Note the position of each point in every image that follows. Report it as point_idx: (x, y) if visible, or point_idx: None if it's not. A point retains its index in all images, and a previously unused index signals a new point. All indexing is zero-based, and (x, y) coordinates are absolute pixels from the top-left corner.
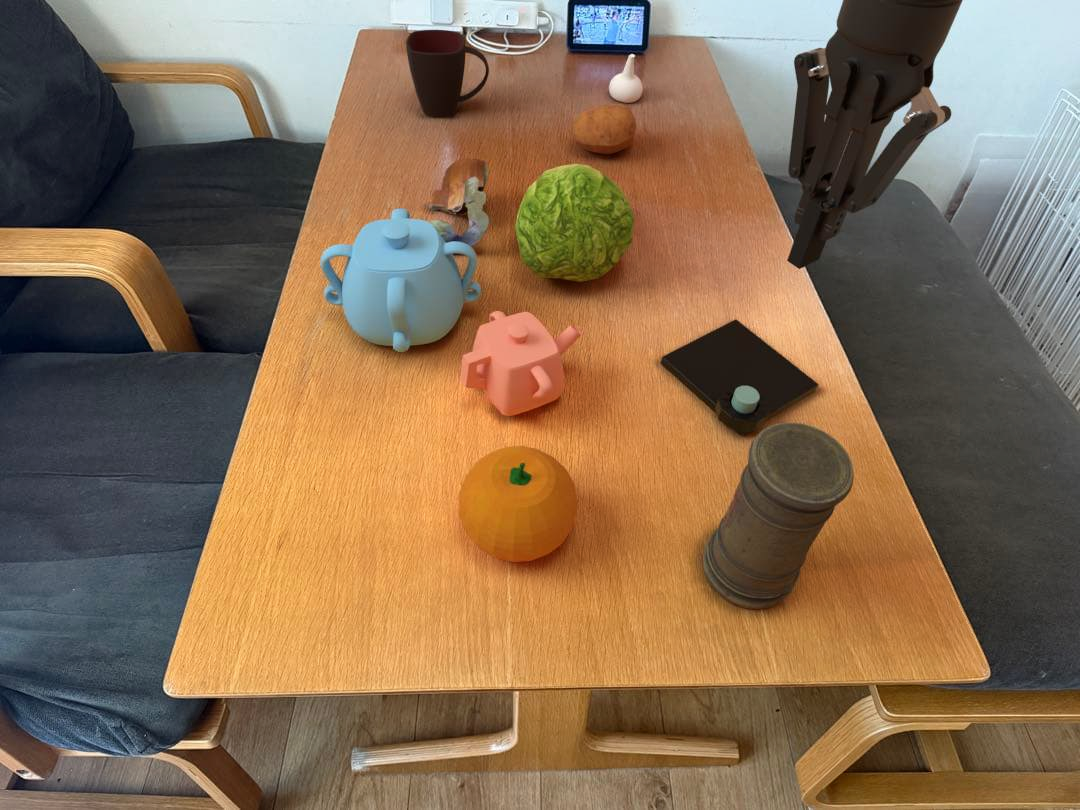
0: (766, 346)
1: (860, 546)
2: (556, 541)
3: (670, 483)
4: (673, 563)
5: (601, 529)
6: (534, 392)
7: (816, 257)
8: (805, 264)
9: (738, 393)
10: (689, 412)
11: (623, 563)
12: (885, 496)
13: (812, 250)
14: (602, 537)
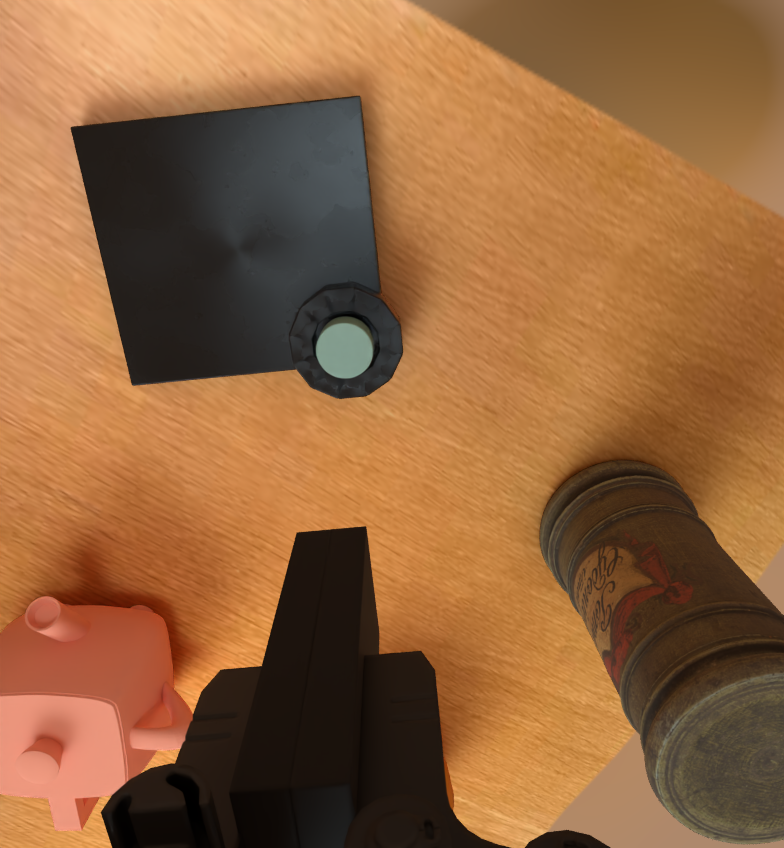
0: (193, 125)
1: (698, 327)
2: (451, 789)
3: (413, 533)
4: (537, 609)
5: (432, 664)
6: (162, 703)
7: (368, 560)
8: (375, 610)
9: (332, 366)
10: (287, 407)
11: (497, 666)
12: (657, 191)
13: (373, 644)
14: (444, 669)
